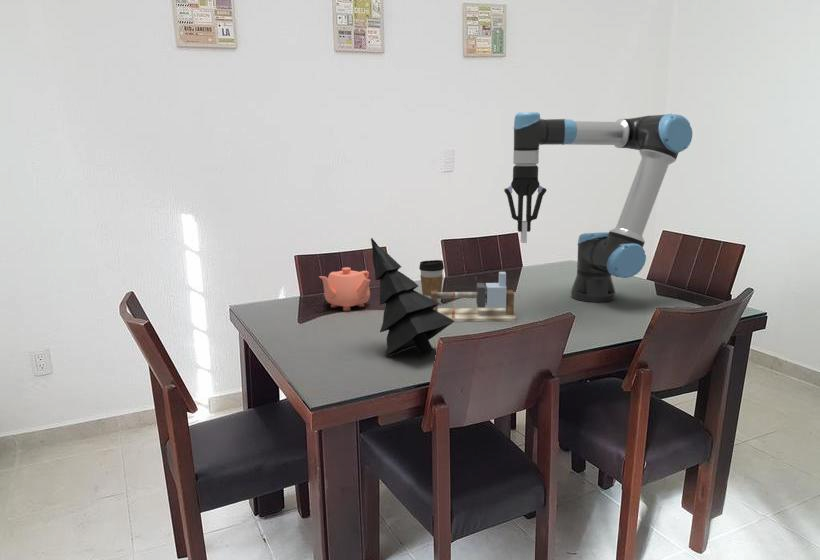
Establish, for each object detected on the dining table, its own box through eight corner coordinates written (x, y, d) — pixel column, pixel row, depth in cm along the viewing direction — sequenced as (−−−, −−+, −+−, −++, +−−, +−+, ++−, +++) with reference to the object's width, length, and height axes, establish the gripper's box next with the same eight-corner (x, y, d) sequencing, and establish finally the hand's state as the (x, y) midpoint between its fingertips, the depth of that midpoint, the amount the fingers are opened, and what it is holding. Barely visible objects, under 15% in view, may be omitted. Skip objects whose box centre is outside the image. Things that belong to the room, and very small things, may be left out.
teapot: (371, 311, 208) (370, 271, 205) (320, 314, 206) (318, 274, 203) (370, 299, 223) (368, 262, 220) (322, 301, 222) (320, 264, 219)
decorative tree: (428, 356, 173) (375, 247, 181) (462, 335, 163) (405, 221, 171) (391, 371, 163) (336, 254, 171) (424, 349, 153) (365, 227, 161)
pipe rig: (512, 311, 205) (512, 287, 204) (516, 321, 194) (517, 296, 192) (430, 311, 207) (429, 287, 205) (429, 321, 195) (429, 296, 193)
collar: (483, 302, 202) (484, 282, 201) (485, 307, 196) (485, 287, 195) (476, 302, 202) (476, 283, 201) (477, 307, 196) (477, 287, 195)
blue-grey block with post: (504, 302, 202) (504, 270, 200) (506, 307, 196) (506, 274, 193) (485, 302, 202) (485, 270, 200) (486, 307, 196) (487, 275, 194)
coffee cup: (442, 307, 212) (441, 263, 208) (417, 306, 213) (417, 263, 210) (445, 301, 220) (445, 259, 216) (422, 300, 221) (421, 258, 218)
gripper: (545, 164, 192) (542, 240, 198) (502, 164, 193) (501, 240, 198) (549, 165, 185) (546, 244, 190) (505, 165, 186) (503, 244, 191)
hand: (523, 242), depth 194 cm, fingers closed
